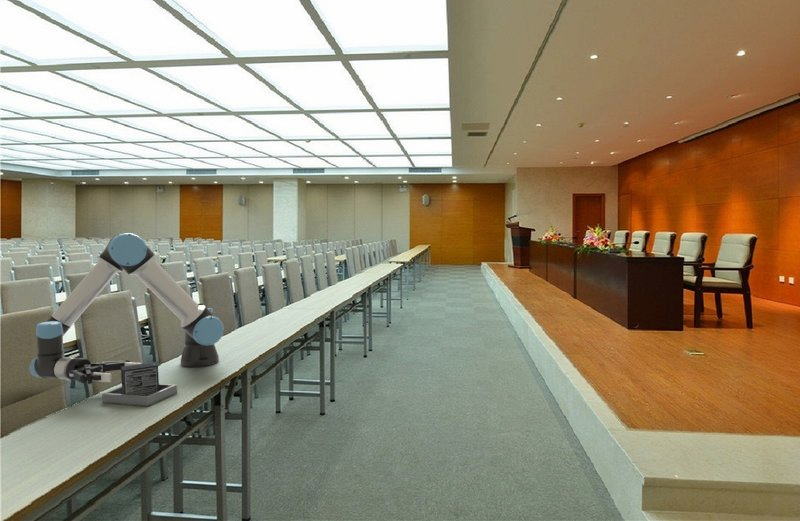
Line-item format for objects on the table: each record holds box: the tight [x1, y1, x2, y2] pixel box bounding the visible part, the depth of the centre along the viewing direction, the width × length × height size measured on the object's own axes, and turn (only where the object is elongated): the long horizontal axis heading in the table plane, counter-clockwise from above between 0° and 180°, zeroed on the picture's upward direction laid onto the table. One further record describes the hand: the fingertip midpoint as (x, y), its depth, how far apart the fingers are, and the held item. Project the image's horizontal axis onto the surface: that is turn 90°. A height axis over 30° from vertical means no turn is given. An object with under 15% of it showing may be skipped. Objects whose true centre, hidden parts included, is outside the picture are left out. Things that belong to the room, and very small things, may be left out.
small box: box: [120, 361, 160, 396], centre depth 169 cm, size 11×6×10 cm, turn 125°
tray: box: [101, 382, 178, 408], centre depth 169 cm, size 14×17×3 cm
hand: (126, 372), depth 169 cm, fingers open, 13 cm apart
